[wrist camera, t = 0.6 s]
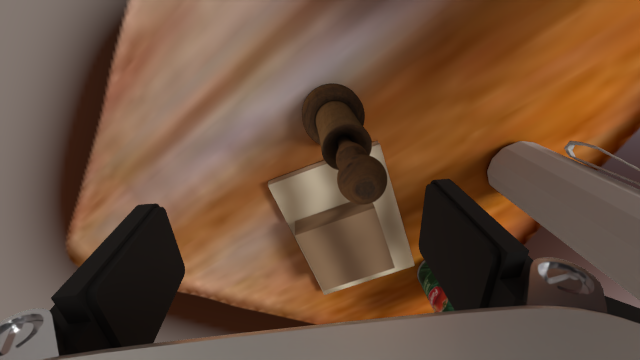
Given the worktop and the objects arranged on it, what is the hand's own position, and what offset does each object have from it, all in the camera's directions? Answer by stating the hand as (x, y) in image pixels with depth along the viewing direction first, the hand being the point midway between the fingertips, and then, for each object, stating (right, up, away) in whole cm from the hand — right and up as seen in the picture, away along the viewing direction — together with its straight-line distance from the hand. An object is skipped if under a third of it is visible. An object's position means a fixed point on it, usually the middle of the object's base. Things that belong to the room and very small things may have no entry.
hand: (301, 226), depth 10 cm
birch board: (+4, -4, +29) cm, 29 cm away
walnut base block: (+4, -6, +28) cm, 29 cm away
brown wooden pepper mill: (+2, +9, +22) cm, 24 cm away
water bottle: (+26, +4, +26) cm, 37 cm away
